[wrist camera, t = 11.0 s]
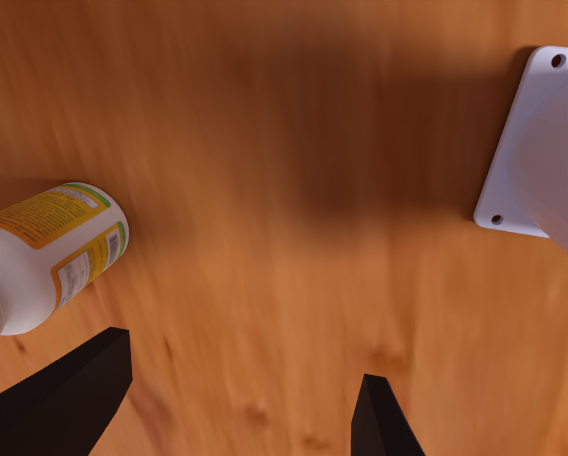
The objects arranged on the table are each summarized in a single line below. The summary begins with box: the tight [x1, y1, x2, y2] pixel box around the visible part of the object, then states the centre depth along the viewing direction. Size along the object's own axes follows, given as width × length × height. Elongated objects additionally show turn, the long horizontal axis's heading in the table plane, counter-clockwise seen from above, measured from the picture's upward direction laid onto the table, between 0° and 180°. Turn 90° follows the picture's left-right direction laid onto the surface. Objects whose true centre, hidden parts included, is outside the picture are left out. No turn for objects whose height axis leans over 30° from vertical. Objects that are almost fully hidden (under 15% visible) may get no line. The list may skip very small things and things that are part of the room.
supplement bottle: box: [0, 182, 129, 335], centre depth 18 cm, size 5×5×10 cm
